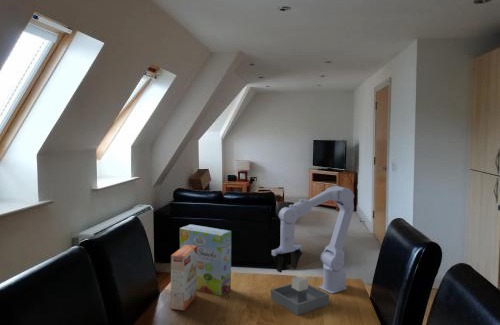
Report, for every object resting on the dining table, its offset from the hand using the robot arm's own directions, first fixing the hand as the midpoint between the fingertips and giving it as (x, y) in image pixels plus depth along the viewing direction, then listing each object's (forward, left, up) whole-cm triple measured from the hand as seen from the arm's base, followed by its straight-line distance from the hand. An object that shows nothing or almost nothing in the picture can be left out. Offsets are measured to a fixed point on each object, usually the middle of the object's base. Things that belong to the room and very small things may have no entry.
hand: (286, 269), depth 153 cm
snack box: (+25, -24, -11) cm, 36 cm away
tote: (0, +8, -10) cm, 13 cm away
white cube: (0, +8, -5) cm, 9 cm away
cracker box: (+38, -16, -11) cm, 43 cm away
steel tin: (0, +8, -10) cm, 12 cm away
